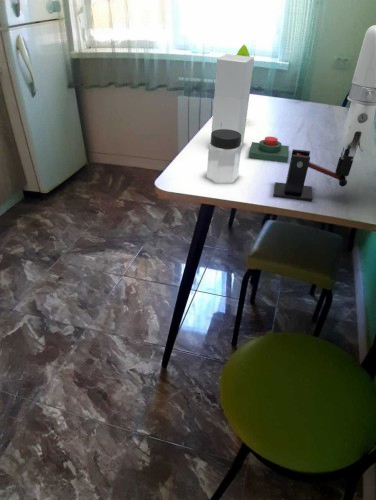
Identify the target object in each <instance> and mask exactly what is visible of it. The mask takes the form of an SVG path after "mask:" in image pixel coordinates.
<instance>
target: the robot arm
mask: <svg viewBox="0 0 376 500" xmlns="http://www.w3.org/2000/svg"><path fill="white" fill-rule="evenodd" d="M358 55H359V56H358V58H357V63H356V67H355V69H354V72H353V73H354V74H353V77H352V81H351V84H350V88H349V91H348V95H347V97H346V99H347V101H349V102H350V104H349V108H348V111H347V114H346V117H345V121H344V125H343V128H342V133H341V143H342V149H341V151H340V152H341V153H340V156H339V157H338V162H337V165H336V168H335V171H334V172H335V173H336V175H340V176H346V177H349V175H350V173H351V169H352V167H353V162H354V159H355V157H356V153H357V151H358V148H359V150H360V152H364V151H365V150H366V148H367V144H368V141H369V138H370V135H371V131H372V127H373V124H374V119H375V116H376V24H374V25H371V26H369V27H368V28H367V30H366V32H365V34H364V36H363V40H362V45H361V48H360V51H359V54H358Z"/></svg>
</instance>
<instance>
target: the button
mask: <svg viewBox="0 0 376 500" xmlns="http://www.w3.org/2000/svg"><path fill="white" fill-rule="evenodd" d="M264 140H265V141H264V144H265V145H269V146H276V145H277V141H279V138H278V137H276V136H265V137H264Z"/></svg>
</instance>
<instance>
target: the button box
mask: <svg viewBox="0 0 376 500" xmlns="http://www.w3.org/2000/svg"><path fill="white" fill-rule="evenodd" d="M264 141H265V139H262V140H259V142H255V141H251V145H250V149H249V152H248V159H250V160H259V161H260V160H261V161H268V162H278V163H284V164H285V163H286V164H287V163H288V160H289V151H290V146H289V145H285V144H284V145H283V144H282V142H280V141H279V140H278V141H277V145H276V146H269V145H265V144H264Z"/></svg>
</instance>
